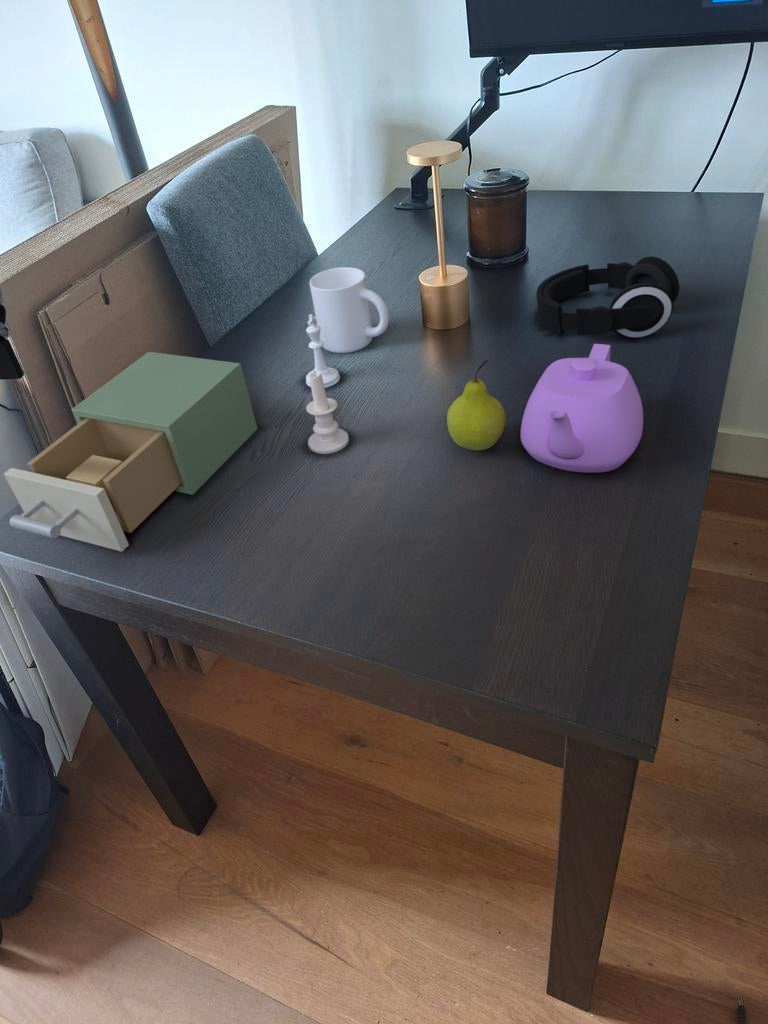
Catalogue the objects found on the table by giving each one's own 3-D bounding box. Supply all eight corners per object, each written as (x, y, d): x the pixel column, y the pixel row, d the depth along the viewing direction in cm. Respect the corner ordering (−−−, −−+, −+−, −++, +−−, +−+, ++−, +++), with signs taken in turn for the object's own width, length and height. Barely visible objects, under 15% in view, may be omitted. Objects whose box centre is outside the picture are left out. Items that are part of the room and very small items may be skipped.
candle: (317, 459, 94) (301, 385, 87) (302, 439, 98) (286, 367, 91) (355, 445, 95) (343, 371, 89) (339, 426, 99) (326, 354, 93)
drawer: (95, 578, 80) (67, 521, 75) (4, 552, 85) (-28, 497, 80) (195, 479, 92) (176, 424, 87) (109, 461, 97) (87, 409, 92)
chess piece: (300, 386, 108) (286, 322, 102) (315, 370, 112) (302, 306, 106) (331, 390, 107) (319, 324, 100) (345, 372, 110) (334, 308, 104)
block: (109, 515, 86) (95, 483, 83) (80, 507, 88) (65, 476, 85) (134, 491, 89) (122, 460, 87) (105, 485, 91) (92, 454, 88)
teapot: (494, 488, 85) (492, 403, 78) (549, 398, 98) (550, 318, 91) (615, 512, 80) (624, 423, 73) (655, 413, 93) (666, 330, 86)
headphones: (666, 293, 99) (519, 298, 108) (666, 348, 104) (525, 349, 113) (687, 244, 111) (552, 253, 120) (686, 295, 116) (556, 300, 125)
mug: (404, 336, 117) (397, 271, 110) (378, 361, 112) (369, 295, 105) (338, 327, 122) (328, 264, 116) (310, 350, 117) (298, 286, 110)
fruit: (437, 450, 92) (429, 362, 85) (471, 424, 96) (466, 337, 88) (483, 468, 88) (479, 377, 81) (517, 440, 92) (516, 351, 84)
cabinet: (192, 495, 91) (168, 426, 85) (99, 475, 97) (70, 409, 91) (257, 428, 101) (240, 363, 95) (170, 414, 107) (148, 351, 101)
